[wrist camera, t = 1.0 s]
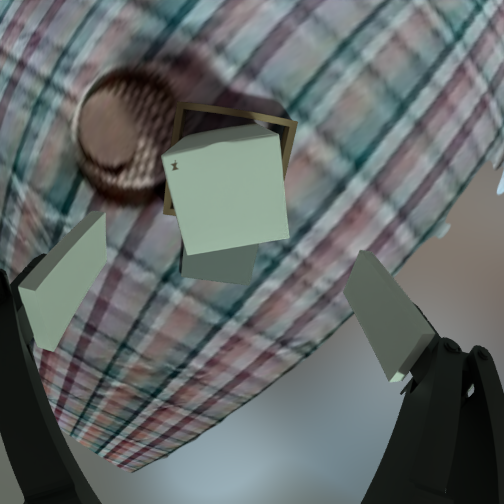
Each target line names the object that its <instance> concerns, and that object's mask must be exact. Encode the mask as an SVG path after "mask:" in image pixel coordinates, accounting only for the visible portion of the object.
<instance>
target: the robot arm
mask: <svg viewBox="0 0 504 504" xmlns="http://www.w3.org/2000/svg"><path fill="white" fill-rule="evenodd" d="M106 262H107V256H106V229H105V212H97V211H91V212H90V213H89V214H88V215H87V216H86V217H85V218H84V219H83V220H81V221H80V222H79V223H78V224H77V225H76V226H75V227H74V228H73V229H72V230H71V231H70V232H69V233H68V234H67V235H66V236H65V237H64V238H63V239H62V240H61V241H60V242H59V243H58V244H57V245H56V246H55V247H54V248H53V249H52V250H51V251H50V252H49V253H48V254H44V253H43V254H41V255H39V256H38V257H36V258H34V259H33V260H32V261H31V262H30V263H29V264H28V265H27V267H25V268H24V270H23V271H22V272H21V273H20V274H19V275H18V276H17V277H16V278H15V279H14V281H13V282H12V283H11V284H9V280H8V277H7V274H6V271H4V270H3V269H0V433H1V436H2V440H3V443H4V446H5V449H6V452H7V455H8V458H9V461H10V463H11V466H12V469H13V471H14V474H15V476H16V479H17V481H18V484H19V486H20V488H21V490H22V493H23V495H24V499H25V502H24V504H102V503H101V502H100V500H99V499H98V497H97V496H96V494H95V493H94V491H93V490H92V488H91V486H90V485H89V483H88V481H87V480H86V478H85V476H84V475H83V473H82V471H81V469H80V468H79V466H78V464H77V462H76V460H75V459H74V456H73V455H72V453H71V451H70V449H69V447H68V445H67V443H66V441H65V438H64V436H63V434H62V432H61V430H60V428H59V425H58V423H57V421H56V418H55V416H54V414H53V411H52V409H51V406H50V404H49V401H48V398H47V396H46V393H45V390H44V387H43V384H42V382H41V379H40V375H39V372H38V369H37V366H36V363H35V359H34V356H33V352H32V349H31V346H30V344H29V342H30V341H31V339H32V337H33V336H34V338H35V341H36V344H37V346H38V347H40V348H43V349H46V350H49V351H53V352H54V350H55V348H56V346H57V344H58V343H59V341H60V339H61V337H62V335H63V333H64V331H65V330H66V328H67V326H68V324H69V322H70V321H71V319H72V317H73V315H74V314H75V312H76V310H77V308H78V307H79V305H80V303H81V302H82V300H83V298H84V297H85V295H86V293H87V292H88V290H89V288H90V287H91V285H92V284H93V282H94V280H95V279H96V277H97V276H98V274H99V273H100V271H101V269H102V268H103V266H104V265H105V263H106ZM343 293H344V295H345V297H346V298H347V300H348V302H349V304H350V306H351V308H352V310H353V311H354V313H355V315H356V317H357V319H358V321H359V323H360V325H361V327H362V329H363V330H364V332H365V334H366V336H367V338H368V340H369V342H370V344H371V346H372V348H373V350H374V352H375V354H376V356H377V358H378V360H379V362H380V364H381V366H382V368H383V370H384V373H385V374H386V377H387V379H388V381H389V382H395V381H402V380H403V379H404V378H405V376H406V375H407V374H408V373H409V371H410V372H411V374H412V376H413V377H412V379H411V380H410V381H409V382H408V384H407V385H406V386H405V387H404V389H403V390H402V391H401V393H400V394H401V395H402V394H403V393H404V392H405V391H406V393H405V397H404V400H403V403H402V406H401V409H400V412H399V416H398V418H397V421H396V424H395V427H394V430H393V433H392V435H391V438H390V440H389V443H388V445H387V448H386V451H385V453H384V455H383V458H382V460H381V462H380V465H379V467H378V469H377V471H376V474H375V476H374V478H373V480H372V482H371V484H370V486H369V488H368V490H367V492H366V494H365V497H364V498H363V500H362V502H361V504H504V393H503V389H502V385H501V382H500V379H499V376H498V373H497V370H496V367H495V364H494V361H493V358H492V356H491V354H490V353H489V352H488V350H487V349H485V348H484V347H481V346H477V345H476V346H474V347H473V348H472V350H471V351H470V353H465V352H462V350H461V348H460V346H459V345H458V344H457V343H456V342H454V341H453V340H451V339H449V338H444V337H443V338H441V337H440V336H439V334H438V333H437V332H436V330H435V329H434V327H433V326H432V325H431V323H430V322H429V321H427V318H426V317H425V315H423V313H422V311H421V310H420V309H419V308H418V306H417V305H415V304H414V303H413V302H412V301H411V300H410V298H409V297H408V296H407V295H406V293H405V292H404V291H403V290H402V288H401V287H400V286H399V285H398V283H397V282H396V281H395V280H394V278H393V277H392V276H391V275H390V273H389V272H388V271H387V270H386V268H385V267H384V266H383V265H382V264H381V262H380V261H379V260H378V259H377V258H376V256H375V255H374V254H373V253H372V252H370V251H364V250H360V251H359V254H358V256H357V259H356V261H355V264H354V267H353V269H352V272H351V274H350V277H349V279H348V282H347V284H346V286H345V289H344V291H343ZM473 386H474V393H473V394H472V395H471V396H470V397H468V392H469V391H470V390H471V389H472V387H473ZM445 492H446V493H445Z"/></svg>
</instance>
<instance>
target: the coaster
mask: <svg viewBox="0 0 504 504" xmlns="http://www.w3.org/2000/svg"><path fill="white" fill-rule="evenodd" d="M258 245H259V243H257V244H251V245H245V246H239V247H233V248H228V249H222V250H216V251H210V252H205V253H199V254H193V255H187V253H186V249H185V246H184V250H183V261H182V273H181V277H186V278H194V279H201V280H209V281H217V282H225V283H233V284H241V285H249V284H250V280H251V276H252V271H253V267H254V263H255V258H256V254H257V249H258Z"/></svg>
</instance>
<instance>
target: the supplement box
mask: <svg viewBox="0 0 504 504" xmlns="http://www.w3.org/2000/svg"><path fill="white" fill-rule="evenodd" d="M161 158H162V163H163V167H164V171H165V175H166V179H167V183H168V187H169V191H170V195H171V199H172V202H173V206H174V210H175V214H176V217H177V221H178V225H179V228H180V232H181V235H182V239H183V242H184V246H185V249H186V253H187V255H193V254H199V253H205V252H210V251H216V250H222V249H228V248H233V247H239V246H245V245H251V244H257V243H262V242H268V241H274V240H280V239H286V238H289V231H288V221H287V212H286V201H285V190H284V180H283V168H282V157H281V148H280V139H279V134H277V133H275V132H273V131H271V130H269V129H266V128H264V127H262V126H260V125H258V124H256V123H251V124H244V125H238V126H232V127H226V128H220V129H215V130H209V131H204V132H199V133H194V134H190V135H186V136H185V137H184V138H182V139H181V140H180V141H179V142H177V143H176V144H175V145H174V146H172V147H171V148H170V149H169V150H167V151H166V152H165V153H164V154H163V155H162V156H161Z"/></svg>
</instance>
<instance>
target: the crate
mask: <svg viewBox="0 0 504 504" xmlns="http://www.w3.org/2000/svg"><path fill="white" fill-rule="evenodd" d="M187 109H188V110H197V111H205V112H212V113H219V114H226V115H232V116H238V117H244V118H249V119H255V120H260V121H265V122H270V123H275V124H279V125H284V131H283V135H282V140H281V144H280V148H281V157H282V168H283V180H285V175H286V171H287V167H288V163H289V158H290V154H291V150H292V146H293V141H294V137H295V133H296V128H297V124H298V122H297V121H293V120H288V119H284V118H279V117H275V116H270V115H265V114H260V113H255V112H250V111H244V110H238V109H232V108H226V107H219V106H212V105H205V104H197V103H188V102H178V101H177V107H176V113H175V119H174V126H173V132H172V139H171V146H170V148H171V147H172V146H174V145H175V144H176V143H177V142H179V141H180V140H181V139H182V136H183V129H184V123H185V117H186V111H187ZM163 214H166V215H173V216H176V214H175V210H174V206H173V202H172V199H171V195H170V191H169V187H168V183H167V179H166V188H165V198H164V209H163Z"/></svg>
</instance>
